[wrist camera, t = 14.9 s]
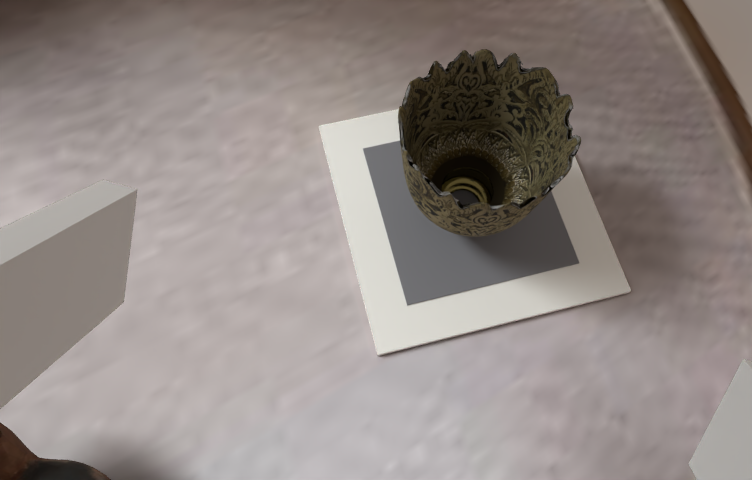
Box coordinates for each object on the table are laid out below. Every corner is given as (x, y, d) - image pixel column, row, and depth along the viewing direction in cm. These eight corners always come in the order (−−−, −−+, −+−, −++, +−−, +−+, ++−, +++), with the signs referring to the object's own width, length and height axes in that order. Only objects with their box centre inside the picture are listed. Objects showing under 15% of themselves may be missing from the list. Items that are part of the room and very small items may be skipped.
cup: (388, 144, 35) (393, 48, 28) (523, 139, 36) (565, 43, 28) (395, 275, 33) (404, 207, 25) (542, 269, 33) (594, 201, 25)
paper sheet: (318, 128, 36) (318, 125, 36) (541, 81, 37) (542, 77, 37) (377, 356, 31) (377, 354, 31) (628, 292, 33) (631, 290, 32)
